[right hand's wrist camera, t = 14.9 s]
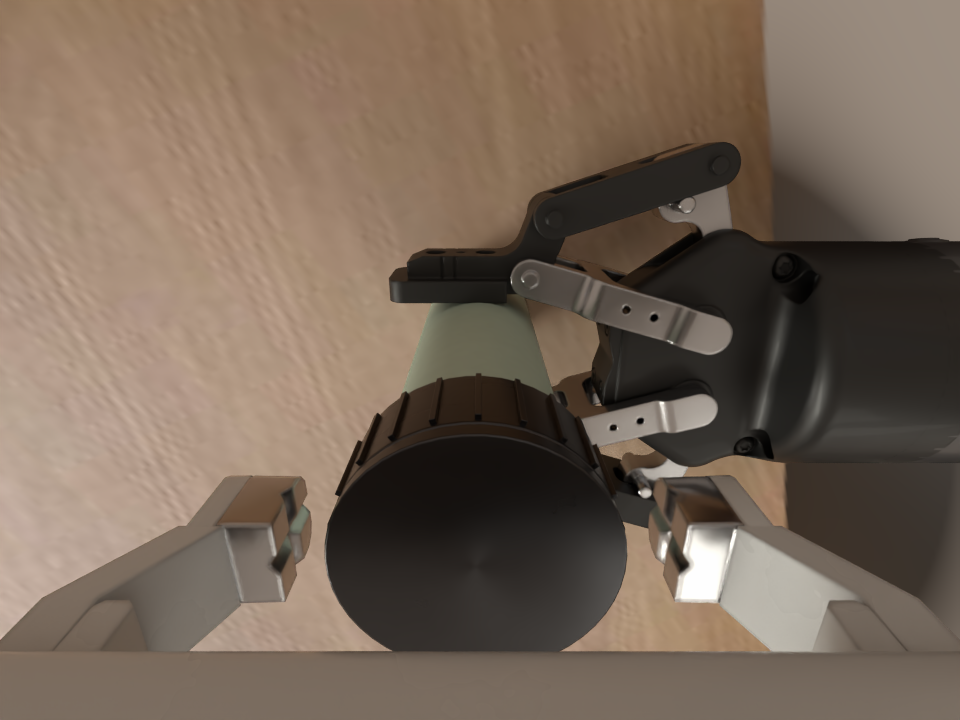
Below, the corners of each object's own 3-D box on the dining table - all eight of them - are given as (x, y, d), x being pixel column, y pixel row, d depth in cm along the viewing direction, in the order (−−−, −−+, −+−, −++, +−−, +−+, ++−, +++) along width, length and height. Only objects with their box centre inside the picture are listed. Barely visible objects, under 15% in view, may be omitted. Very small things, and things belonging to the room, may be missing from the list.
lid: (530, 609, 12) (541, 706, 10) (317, 532, 11) (279, 620, 9) (651, 434, 10) (695, 507, 8) (408, 326, 9) (387, 377, 7)
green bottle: (420, 324, 24) (327, 585, 9) (456, 243, 22) (412, 404, 8) (499, 359, 24) (526, 653, 10) (539, 283, 23) (637, 496, 9)
